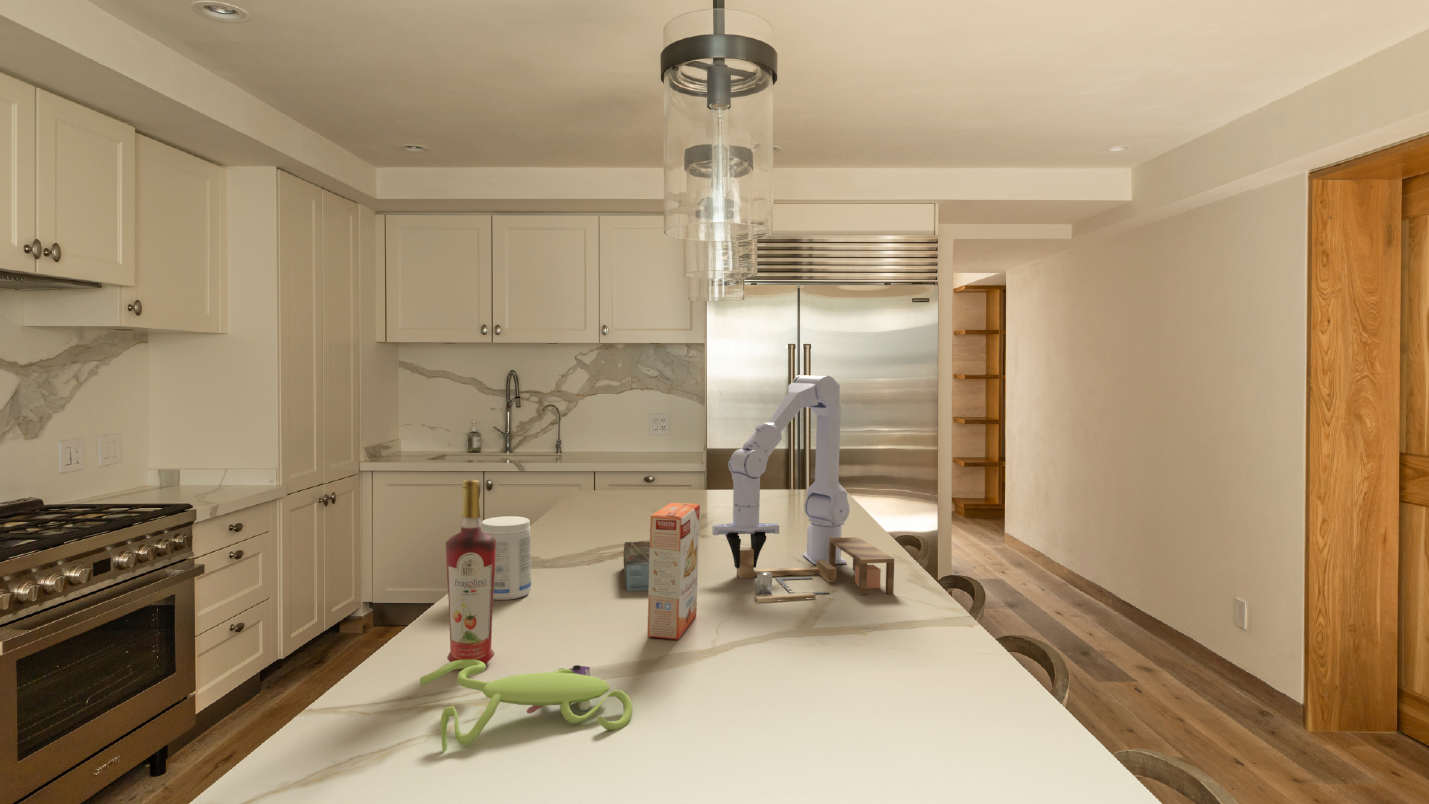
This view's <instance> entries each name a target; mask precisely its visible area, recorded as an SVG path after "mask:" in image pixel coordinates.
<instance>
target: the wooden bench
mask: <svg viewBox="0 0 1429 804" xmlns="http://www.w3.org/2000/svg"><path fill="white" fill-rule="evenodd" d="M836 547H838V548H839V549H841V552H843V553H845V554H846V555H849V557H851V558H852V569H853V571H855V565H859V586H858V594H859V593H860V594H866V595H867V589H868V588H867V565H868V564H886V565H885V593H886V594H888V595H894V587H895V584H894V581H895V580H894V579H895V558H894V557H892V556H890V555H889V554H888V553H886V552H884V551H883V550H881V549H880V548H877V547H876V546H874V545H872V544H871V543H869V542H867V541H866V540H864V539H862V538H861V537H859V536H858V537H853V536H852V537H841V538H829V564H831V565H832V566H833V567H835V568H836V564H835V560H836ZM860 594H859V595H860Z"/></svg>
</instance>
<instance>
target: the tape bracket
mask: <svg viewBox="0 0 1429 804" xmlns="http://www.w3.org/2000/svg"><path fill="white" fill-rule="evenodd" d="M797 579H798V580H800V579H801V580H814V579H813V577H812V576H806V577H805V576H803V577H802V576H800V577H797V576H795V577H776V578H775V580H776V581H777V582H778V583H779V584H780V585H781V586H782V585H784V587H783V588H784V589H785V588H791V587H790V586H789V585H788V584H787V583H786V582H785V581H793V580H794V581H796V580H797ZM786 585H788V586H786ZM786 591H787V592H788V591H794V590H793V589H792V588H791V589H787V590H786ZM811 592H812V593H813V594H815V595H828V594H827V593H830V592H829V591H810V592H809V591H808V592H805V591H804V592H801V593H811ZM796 593H797V592H795V591H794V592H790V593H789V594H796ZM824 593H825V594H824Z"/></svg>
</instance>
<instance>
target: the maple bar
mask: <svg viewBox="0 0 1429 804" xmlns="http://www.w3.org/2000/svg"><path fill="white" fill-rule="evenodd" d="M810 592H811V593H802V592H795V593H796V594H790V593H785V594H771V595H755V596H754V601H755V600H756V603H758V604H760V602H761V603H770V602H769V601H776V602H779V601H778V600H791V601H796V600H795V599H806V598H815V599H816V598H817V597H816V596H817V594H813V593H812V592H813V591H810ZM806 600H807V599H806Z"/></svg>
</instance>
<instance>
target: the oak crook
mask: <svg viewBox="0 0 1429 804" xmlns="http://www.w3.org/2000/svg"><path fill="white" fill-rule="evenodd" d="M837 571H838V569H837V568H836V566H835V567H833V566H832V565H831V564H829V563H828V562H827V561H825V560H817V565H816V566H814V567H787V568H786V567H785V568H754V550H753V549H752V548H751V546H746V547H745V546H740V568H736V576H737V577H738V578H739V579H751V578H752V579H753V578H757V573H758V572H770V573H772V577H787V575H795V576H814V575H813V574H819V576H820V577H821V578H822V577H823V580H825V581H826V580H827V581H826V582H827V583H836V582H837ZM785 575H786V576H785Z"/></svg>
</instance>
